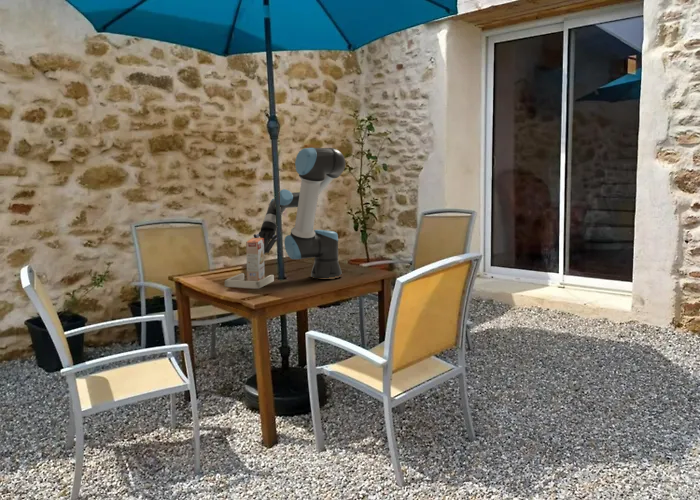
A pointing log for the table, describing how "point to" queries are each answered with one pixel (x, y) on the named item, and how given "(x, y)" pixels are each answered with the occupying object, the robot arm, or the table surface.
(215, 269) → the table surface
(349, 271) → the table surface
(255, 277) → the cracker box
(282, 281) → the table surface
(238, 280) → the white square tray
